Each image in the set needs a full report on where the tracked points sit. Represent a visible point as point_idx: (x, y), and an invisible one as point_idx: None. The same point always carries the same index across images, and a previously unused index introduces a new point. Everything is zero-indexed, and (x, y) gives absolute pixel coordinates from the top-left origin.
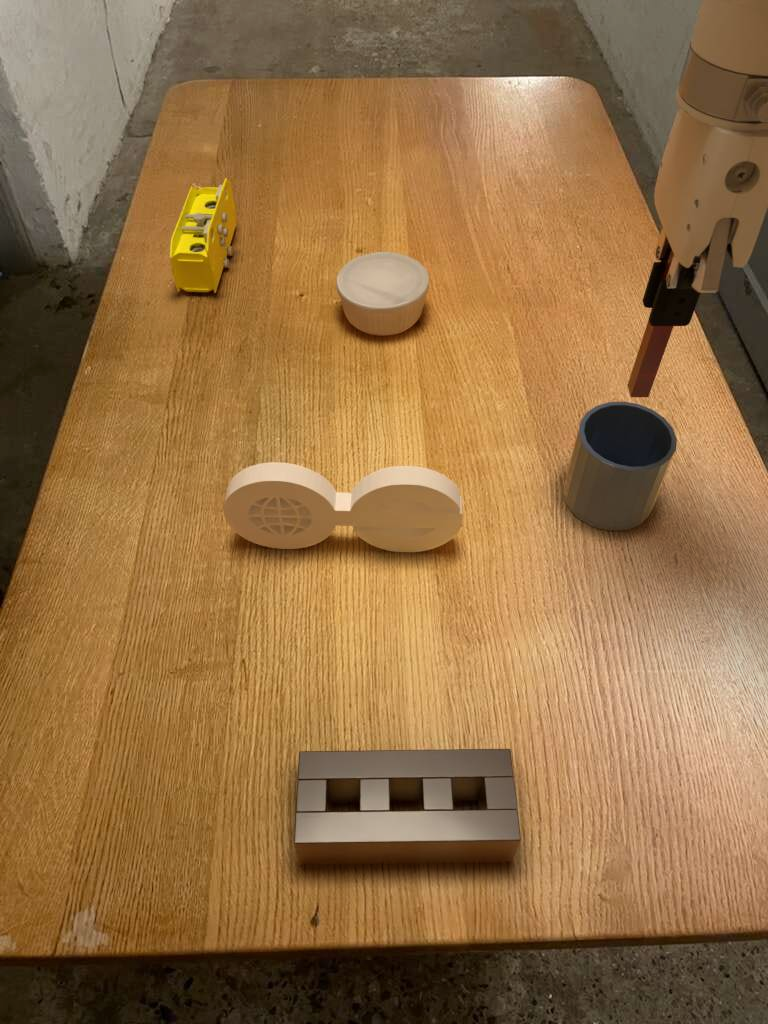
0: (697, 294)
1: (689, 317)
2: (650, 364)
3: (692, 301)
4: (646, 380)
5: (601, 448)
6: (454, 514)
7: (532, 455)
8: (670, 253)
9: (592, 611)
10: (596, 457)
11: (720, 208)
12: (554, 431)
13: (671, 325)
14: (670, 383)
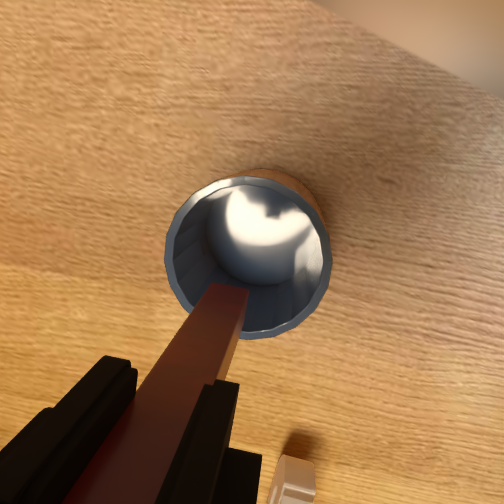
0: (209, 498)
1: (233, 407)
2: (232, 348)
3: (216, 476)
4: (240, 324)
5: (199, 235)
6: (312, 500)
7: (174, 302)
8: None
9: (435, 316)
10: (286, 330)
11: None
12: (134, 259)
13: (230, 435)
14: (52, 43)
